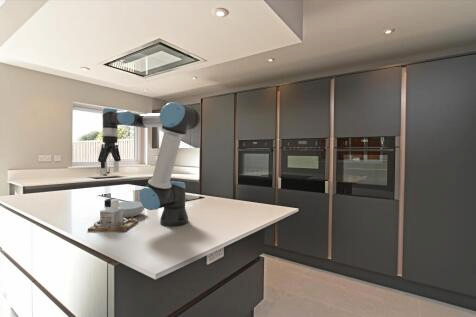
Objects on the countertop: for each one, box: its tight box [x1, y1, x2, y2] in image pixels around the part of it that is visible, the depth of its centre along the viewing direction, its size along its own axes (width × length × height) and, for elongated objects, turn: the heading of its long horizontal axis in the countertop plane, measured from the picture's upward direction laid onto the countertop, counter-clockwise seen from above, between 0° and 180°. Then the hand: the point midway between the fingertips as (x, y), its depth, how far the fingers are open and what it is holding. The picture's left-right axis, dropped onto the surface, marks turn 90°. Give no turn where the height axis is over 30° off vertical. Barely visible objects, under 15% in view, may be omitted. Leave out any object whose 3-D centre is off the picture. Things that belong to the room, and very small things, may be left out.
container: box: [99, 197, 123, 225], centre depth 126 cm, size 8×8×13 cm
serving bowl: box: [118, 200, 145, 219], centre depth 147 cm, size 21×21×7 cm
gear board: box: [87, 216, 139, 233], centre depth 126 cm, size 18×16×4 cm
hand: (110, 173), depth 138 cm, fingers open, 13 cm apart
